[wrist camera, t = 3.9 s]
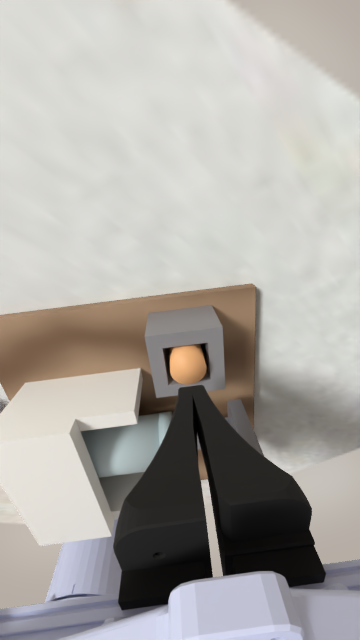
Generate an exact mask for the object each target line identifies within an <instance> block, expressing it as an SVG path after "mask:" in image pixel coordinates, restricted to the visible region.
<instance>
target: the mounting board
mask: <svg viewBox="0 0 360 640" xmlns="http://www.w3.org/2000/svg"><path fill="white" fill-rule="evenodd" d="M207 305H212V307H213V309H214V311H215V313H216V315H217V317H218V319H219V321H220V323H221V325H222V327H223V346H224V368H225V389H222V390H214V391H207V393H208V395H209V397H210V398H211V400H212V401H213V403H214V404H215V406H216V407H217V409H218V410H219V411H220V413H221V414H222V415H223V417H224V418H226V417H228V411H227V401H230V400H238V399H241V401H242V404H243V406H244V408H245V411H246V413H247V416H248V418H249V421H250V423H251V426H252V428H253V430H254V370H255V310H256V287H255V286H254V285H253V284H245V285H237V286H229V287H221V288H213V289H205V290H197V291H189V292H181V293H173V294H165V295H157V296H149V297H141V298H133V299H125V300H117V301H109V302H101V303H93V304H85V305H77V306H69V307H61V308H53V309H45V310H37V311H29V312H21V313H13V314H5V315H0V383H1V385H2V387H3V389H4V391H5V393H6V395H7V397H8V398H9V400H10V401H11V400H12V399H13V397H14V396H15V395H16V394H17V392H18V391H19V390H20V389H21V387H22V386H23V385H24V384H25V383H28V382H35V381H43V380H51V379H59V378H67V377H74V376H82V375H90V374H98V373H106V372H114V371H121V370H129V369H137V368H141V373H142V378H143V382H142V390H141V398H140V406H139V414H138V416H142V415H150V414H157V413H162V412H170V411H171V412H172V415H173V413H174V410H175V406H176V402H177V397H178V395H175V396H168V397H160V398H156V393H155V388H154V383H153V378H152V373H151V367H150V362H149V357H148V352H147V347H146V342H145V331H146V324H147V318H148V313H151V312H159V311H167V310H175V309H183V308H191V307H199V306H207ZM200 345H201V348H202V343H201V344H200ZM202 350H203V349H202ZM167 354H169V348H167ZM198 464H199V473H200V480H204V479H208V476H207V472H206V467H205V463H204V459H203V455H202V451H201V450H198Z"/></svg>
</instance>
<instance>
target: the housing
mask: <svg viewBox="0 0 360 640" xmlns="http://www.w3.org/2000/svg"><path fill="white" fill-rule="evenodd" d="M145 342H146V347H147V352H148V357H149V362H150V367H151V373H152V378H153V383H154V388H155V393H156V398H160V397H168V396H175V395H178V389H179V388H181V387H188V386H196V385H203V386H204V387H205V389H206V391H214V390H222V389H225V368H224V346H223V327H222V325H221V323H220V321H219V319H218V317H217V315H216V313H215V311H214V309H213V307H212V305H207V306H199V307H191V308H183V309H175V310H167V311H159V312H151V313H148V318H147V324H146V331H145ZM201 343H202V349H203V350H202V352H203V356H204V359H205V363H206V367H207V370H206V374H205V376H204V377H203V378H202V379H201V380H200V381H198V382H197V383H194V384H189V385H185V384H181V383H178V382H176V381H175V380H174V379H173V378H172V376H171V374H170V357H169V354H167V348H169V347H177V346H185V345H193V344H201ZM142 382H143V378H142V373H141V368H137V369H129V370H121V371H114V372H106V373H98V374H90V375H82V376H74V377H67V378H59V379H51V380H43V381H35V382H28V383H25V384H24V385H23V386H22V387H21V389H20V390H19V391H18V392H17V394H16V395H15V396H14V397H13V399H12V400H11V401H10V402H9V403H8V405H7V406H6V407H5V408H4V410H3V411H2V412H1V413H0V485H1V487H2V488H3V490H4V491H5V493H6V494H7V496H8V498H9V499H10V501H11V502H12V504H13V505H14V507H15V508H16V510H17V511H18V513H19V514H20V516H21V518H22V519H23V521H24V522H25V524H26V525H27V526H28V528H29V530H30V531H31V533H32V534H33V536H34V537H35V539H36V541H37V542H38V544H39V545H40V546H43V545H51V544H58V543H66V542H73V541H81V540H88V539H95V538H103V537H110V536H112V532H113V525H114V520H117V519H118V518H119V514H120V511H121V508H122V505H123V502H124V499H125V498H126V496H127V495H128V494H129V493H130V491H131V490H132V489H133V487H134V486H135V485H136V484H137V482H138V481H139V479H140V478H141V477H142V475H143V474H144V472H139V473H132V474H124V475H116V476H109V477H101V478H98V476H97V473H96V471H95V468H94V465H93V463H92V460H91V458H90V455H89V452H88V450H87V447H86V445H85V442H84V439H83V437H82V434H81V432H80V431H87V430H94V429H102V428H110V427H117V426H125V425H133V424H137V422H138V414H139V406H140V398H141V390H142Z"/></svg>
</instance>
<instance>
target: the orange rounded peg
mask: <svg viewBox="0 0 360 640" xmlns="http://www.w3.org/2000/svg"><path fill="white" fill-rule="evenodd" d="M169 357H170V374H171V376H172V378H173V379H174V380H175V381H176V382H178V383H181V384H185V385H189V384H194V383H197V382H198V381H200V380H201V379H202V378H203V377H204V376H205V374H206V370H207V367H206V363H205V359H204V356H203V352H202V348H201V345H200V344H193V345H185V346H177V347H169Z"/></svg>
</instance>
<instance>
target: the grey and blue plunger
mask: <svg viewBox="0 0 360 640" xmlns="http://www.w3.org/2000/svg"><path fill="white" fill-rule="evenodd" d="M227 411H228V417H226V418H225V419H226V420H227V421H228V423H229V424H230V425H231V426H232V427H233V428H234V429H235V431H236V432H237V433H238V434H239V435H240V436H241V437H242V438H243V439H244V440H245V441H246V442H248V443H249V444H250V445H251V446H252V447H253V448H254V449H256V450H257V451H258V452H259V453H260V454H261V455H263V453H262V450H261V448H260V445H259V443H258V440H257V438H256V435H255V433H254V431H253V428H252V426H251V423H250V421H249V418H248V416H247V413H246V411H245V408H244V406H243V404H242V401H241V399H238V400H230V401H227ZM172 416H173V415H172V412H171V411H170V412H162V413H157V414H150V415H142V416H138V422H137V424H133V425H125V426H117V427H110V428H102V429H94V430H87V431H80V432H81V434H82V437H83V439H84V442H85V445H86V447H87V450H88V452H89V455H90V458H91V460H92V463H93V465H94V468H95V471H96V473H97V476H98V478H101V477H109V476H116V475H124V474H132V473H139V472H145V471H146V469H147V467H148V466H149V464H150V463H151V461H152V460H153V458H154V456H155V454H156V452H157V451H158V449H159V447H160V445H161V443H162V441H163V439H164V437H165V434H166V432H167V430H168V427H169V424H170V422H171V419H172ZM197 444H198V450H201V447H200V443H199V439H198V435H197ZM263 456H264V455H263Z"/></svg>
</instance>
